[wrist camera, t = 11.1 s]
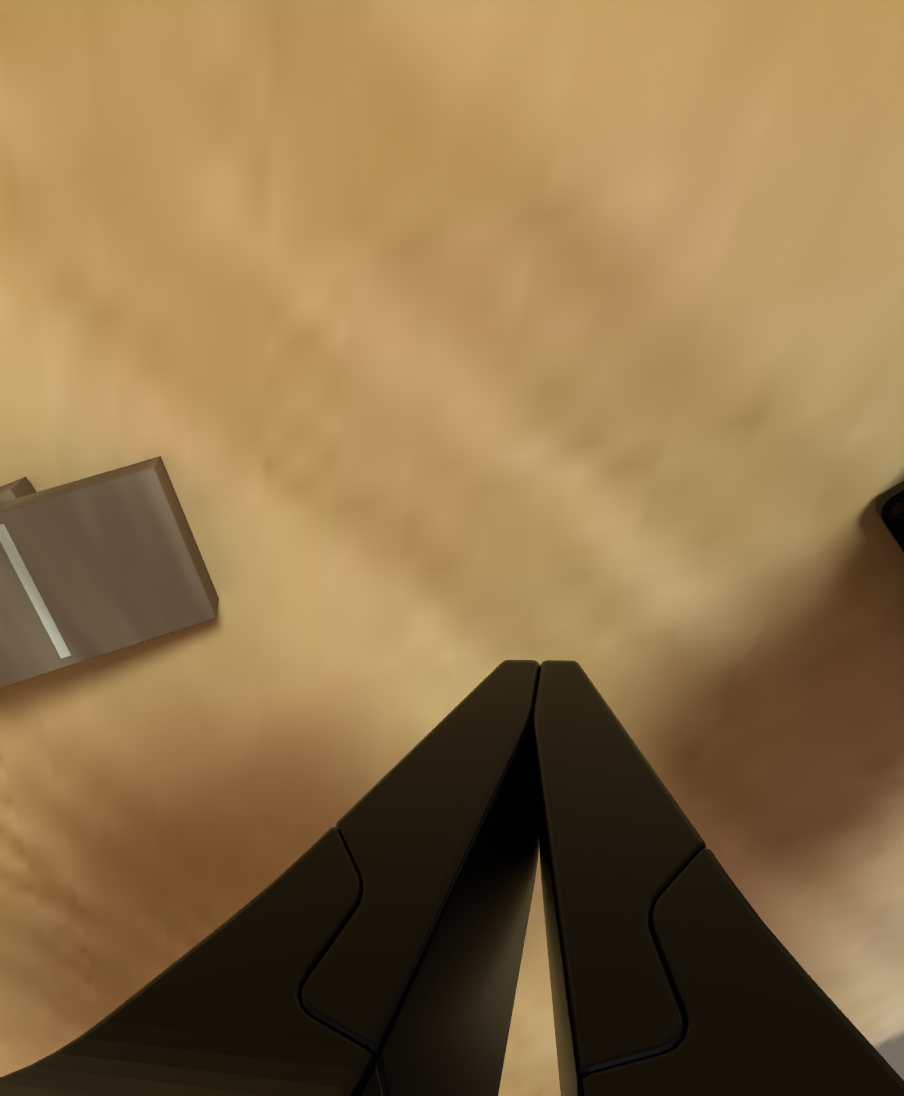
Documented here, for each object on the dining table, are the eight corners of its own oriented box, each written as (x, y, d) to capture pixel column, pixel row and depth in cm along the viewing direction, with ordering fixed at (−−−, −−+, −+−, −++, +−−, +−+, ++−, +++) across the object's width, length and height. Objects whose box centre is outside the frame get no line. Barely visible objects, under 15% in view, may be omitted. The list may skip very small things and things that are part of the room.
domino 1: (153, 468, 22) (-177, 565, 20) (215, 618, 23) (-84, 715, 22) (160, 456, 23) (-147, 545, 22) (218, 597, 25) (-62, 687, 24)
